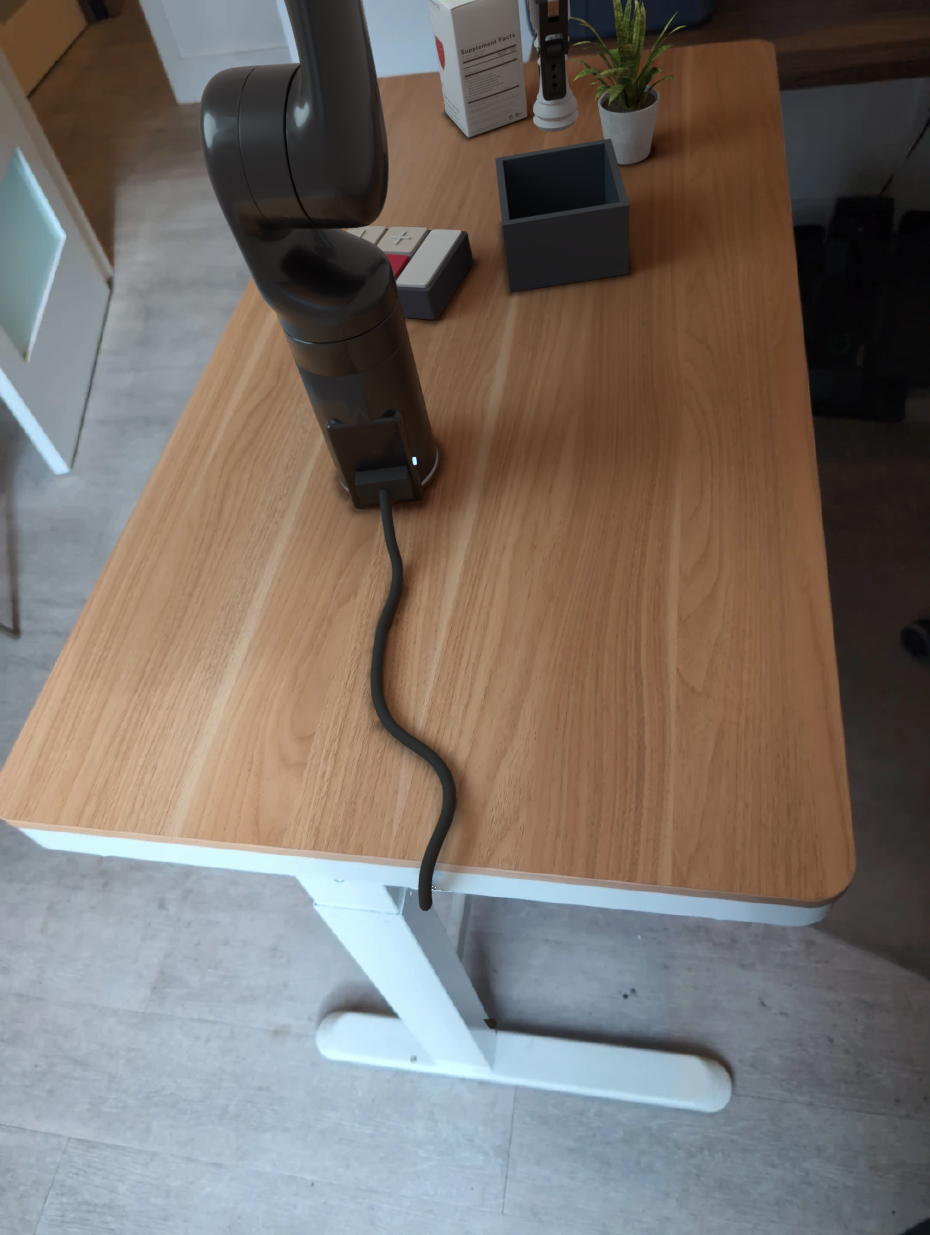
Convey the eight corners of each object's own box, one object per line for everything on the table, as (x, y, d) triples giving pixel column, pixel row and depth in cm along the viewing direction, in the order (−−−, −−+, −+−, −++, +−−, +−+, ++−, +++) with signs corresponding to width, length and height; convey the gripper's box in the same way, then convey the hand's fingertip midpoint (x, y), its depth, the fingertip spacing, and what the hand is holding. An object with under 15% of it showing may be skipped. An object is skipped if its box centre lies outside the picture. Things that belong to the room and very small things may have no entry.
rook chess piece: (587, 113, 82) (584, 20, 75) (565, 136, 80) (560, 42, 73) (547, 108, 84) (541, 16, 77) (525, 130, 82) (517, 38, 75)
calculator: (348, 220, 95) (467, 223, 90) (359, 255, 99) (474, 260, 93) (303, 277, 90) (427, 284, 85) (317, 312, 94) (436, 320, 88)
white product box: (443, 113, 115) (423, -15, 103) (503, 93, 116) (490, -37, 104) (467, 139, 110) (448, 8, 98) (529, 118, 111) (518, -15, 99)
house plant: (548, 140, 107) (538, -10, 93) (651, 110, 107) (656, -43, 94) (585, 192, 98) (580, 36, 85) (697, 160, 99) (709, -1, 85)
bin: (628, 274, 88) (629, 204, 82) (510, 292, 89) (502, 225, 83) (611, 206, 96) (610, 137, 90) (502, 223, 97) (495, 157, 91)
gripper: (487, -164, 70) (509, 64, 84) (496, -111, 62) (518, 131, 76) (577, -183, 69) (583, 50, 83) (598, -132, 61) (601, 117, 75)
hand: (552, 88), depth 79 cm, fingers closed on rook chess piece, 3 cm apart
